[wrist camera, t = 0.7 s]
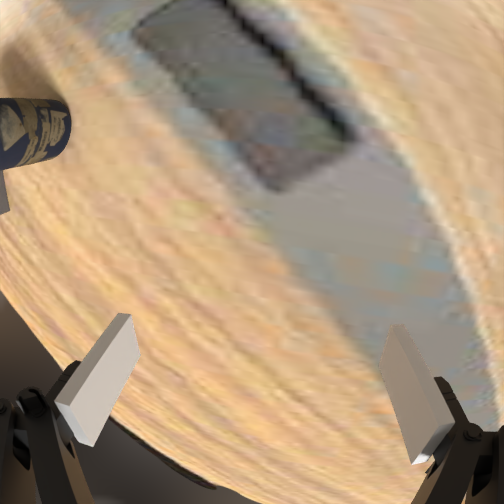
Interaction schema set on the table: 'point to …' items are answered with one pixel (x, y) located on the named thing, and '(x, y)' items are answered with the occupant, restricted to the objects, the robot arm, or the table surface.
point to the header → (3, 195)
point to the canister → (32, 131)
